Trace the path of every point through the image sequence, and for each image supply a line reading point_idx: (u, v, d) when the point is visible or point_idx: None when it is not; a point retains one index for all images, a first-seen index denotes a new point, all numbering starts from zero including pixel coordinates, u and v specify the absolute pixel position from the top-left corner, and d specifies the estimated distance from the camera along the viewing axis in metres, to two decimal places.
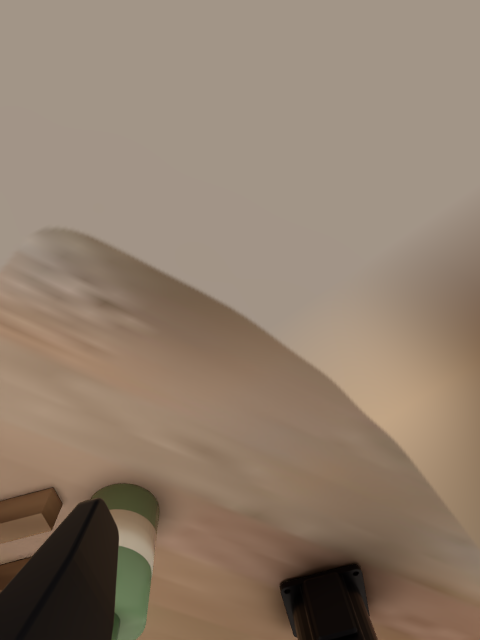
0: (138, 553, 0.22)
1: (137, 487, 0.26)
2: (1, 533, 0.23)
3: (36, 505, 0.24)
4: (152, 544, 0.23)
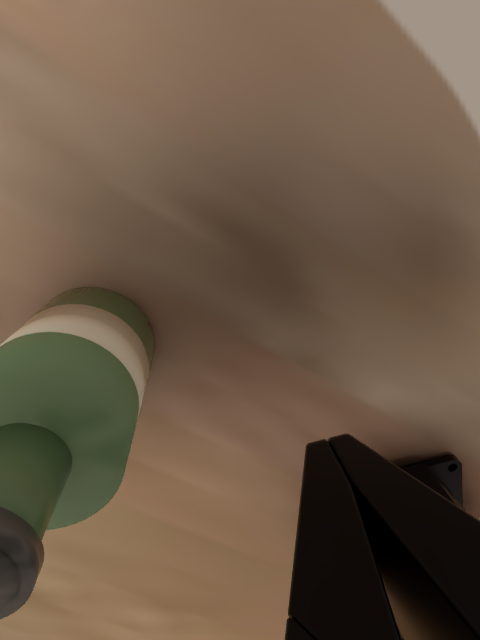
0: (113, 355, 0.11)
1: (117, 294, 0.15)
2: None
3: None
4: (141, 364, 0.13)
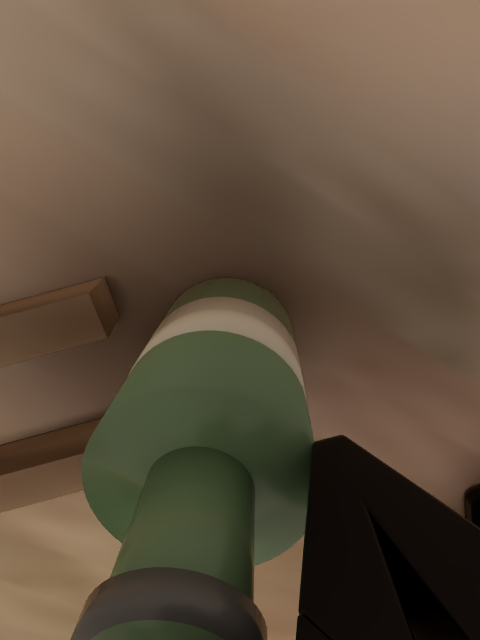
0: (285, 362, 0.09)
1: (258, 286, 0.13)
2: (8, 341, 0.12)
3: (76, 291, 0.12)
4: (301, 372, 0.11)
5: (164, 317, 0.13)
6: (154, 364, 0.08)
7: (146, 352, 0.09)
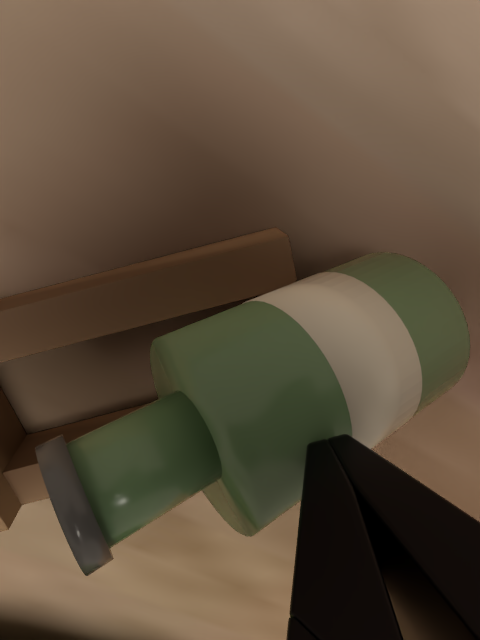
0: (334, 377, 0.08)
1: (436, 279, 0.10)
2: (200, 286, 0.11)
3: (263, 237, 0.12)
4: (392, 400, 0.09)
5: None
6: (209, 318, 0.09)
7: None
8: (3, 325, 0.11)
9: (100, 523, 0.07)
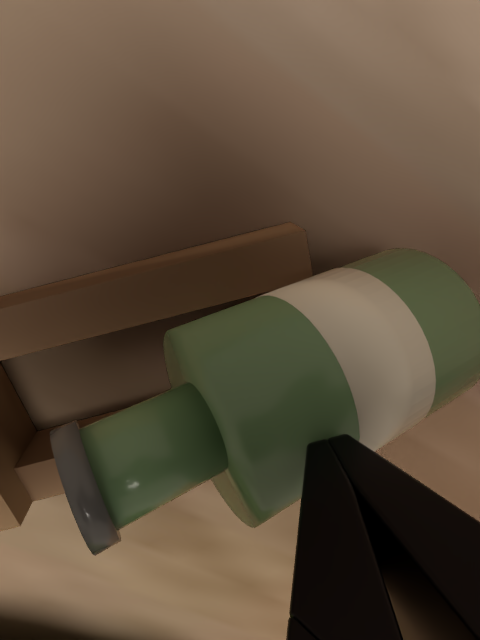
0: (343, 374, 0.08)
1: (455, 277, 0.10)
2: (216, 280, 0.11)
3: (279, 231, 0.12)
4: (402, 400, 0.09)
5: None
6: (221, 311, 0.09)
7: None
8: (17, 319, 0.11)
9: (108, 506, 0.07)
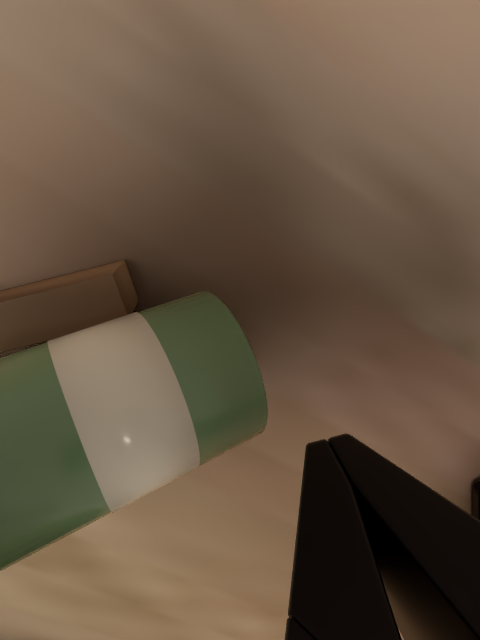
0: (74, 428, 0.08)
1: (233, 325, 0.10)
2: (30, 321, 0.12)
3: (98, 273, 0.12)
4: (151, 448, 0.09)
5: None
6: None
7: None
8: None
9: None
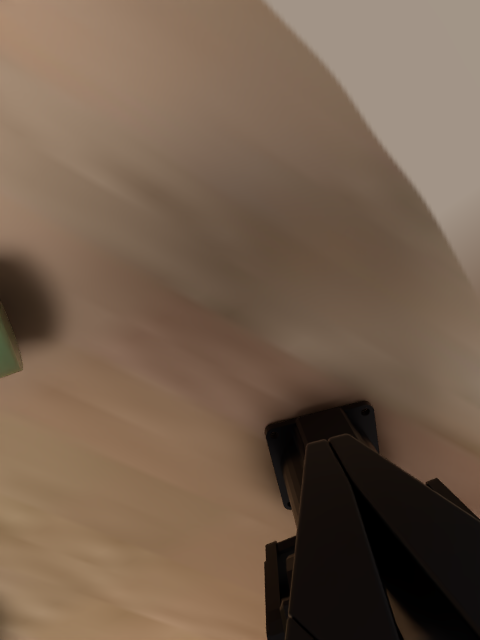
0: None
1: None
2: None
3: None
4: None
5: None
6: None
7: None
8: None
9: None
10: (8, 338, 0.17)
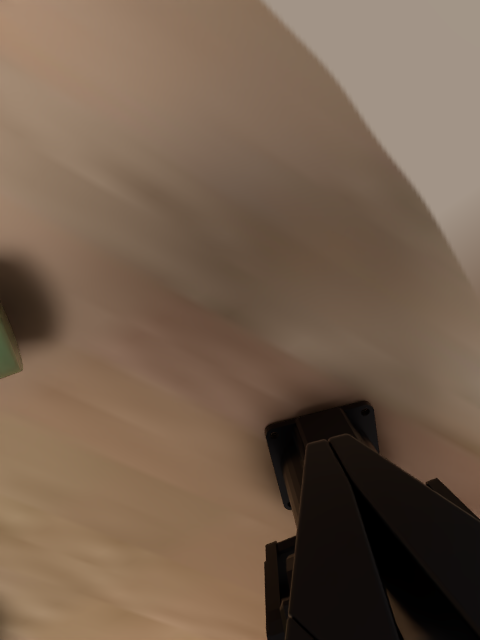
0: None
1: None
2: None
3: None
4: None
5: None
6: None
7: None
8: None
9: None
10: (8, 339, 0.17)
